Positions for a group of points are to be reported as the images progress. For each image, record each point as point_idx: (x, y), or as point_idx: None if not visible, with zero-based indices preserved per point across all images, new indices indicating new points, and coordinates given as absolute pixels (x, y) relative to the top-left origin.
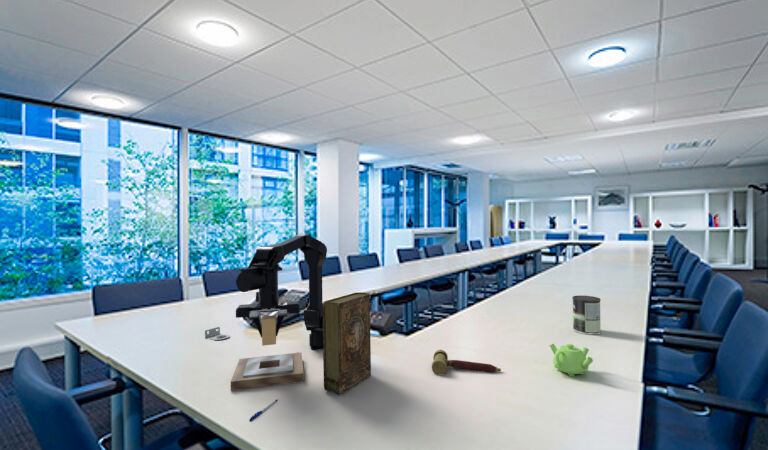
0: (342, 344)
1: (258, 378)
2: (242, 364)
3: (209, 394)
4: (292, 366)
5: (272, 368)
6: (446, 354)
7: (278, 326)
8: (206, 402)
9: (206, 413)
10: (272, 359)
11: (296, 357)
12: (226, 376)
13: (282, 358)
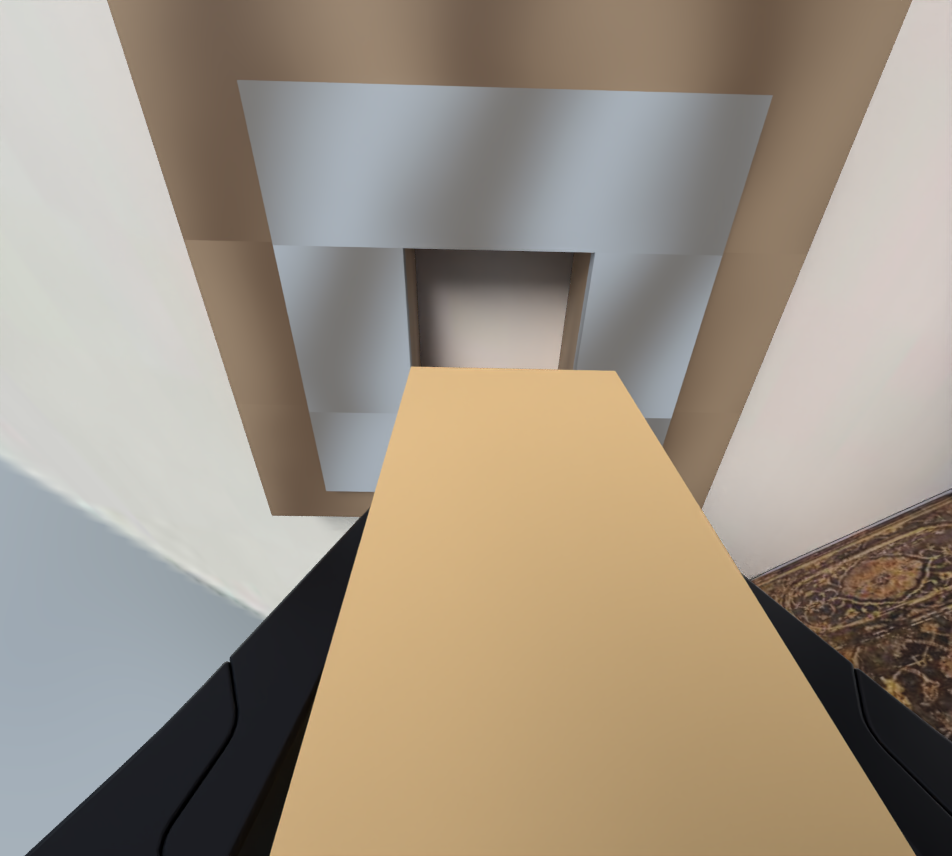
0: None
1: None
2: (229, 220)
3: (191, 488)
4: (660, 443)
5: None
6: None
7: None
8: (222, 549)
9: (269, 613)
10: (522, 223)
11: (772, 194)
12: (156, 259)
13: (624, 229)
